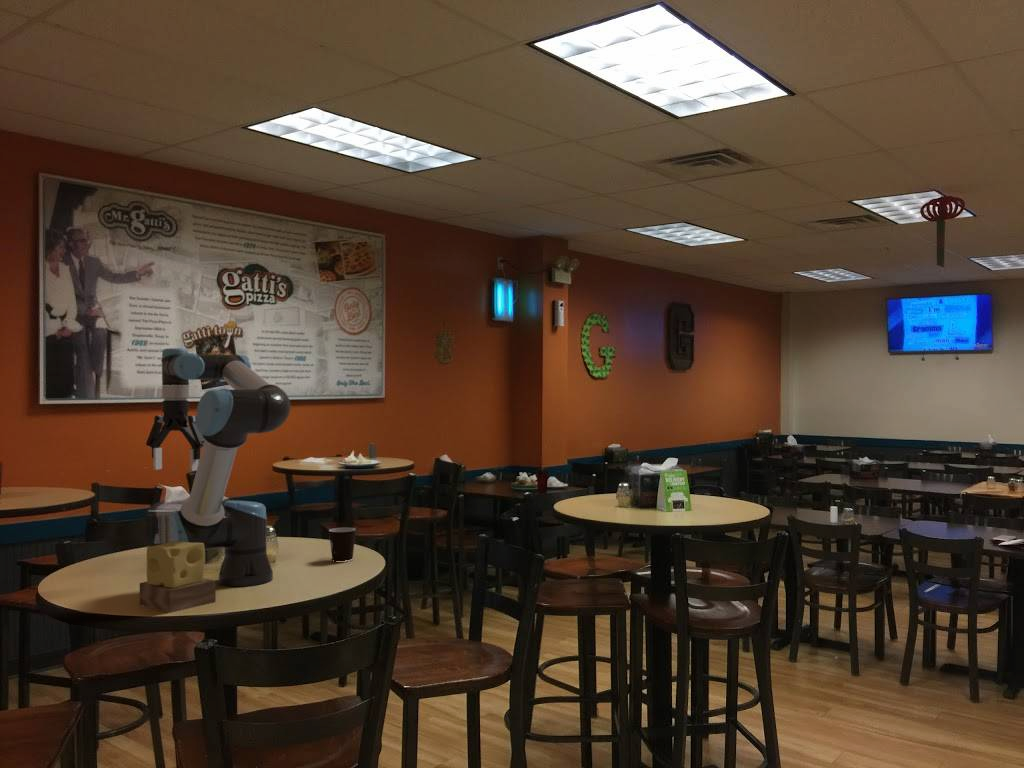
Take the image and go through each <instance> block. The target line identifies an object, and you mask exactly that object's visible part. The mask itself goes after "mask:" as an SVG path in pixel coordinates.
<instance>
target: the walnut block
mask: <svg viewBox="0 0 1024 768" xmlns="http://www.w3.org/2000/svg"><path fill="white" fill-rule="evenodd" d="M216 590H217V589H216V580H215V579H214V580H213V579H209V578H204V577H203V580H202V581H200V582H195V583H191V584H187V585H183V586H179V587H176V588H169V587H164V585H160V586H158V585H149V584H148V583H147V581H143V582H140V583H139V605H140V606H142V605H144V606H143V607H146V606H147V607H146V608H150V607H151V609H153V608H154V610H157V609H158V611H162V612H164V611H165V613H168V612H169V613H168V614H171V613H175V612H180V611H184V610H188V609H193V608H196V607H201V606H205V605H209V604H213V603H214V604H215V603H216V602H217V601H216Z"/></svg>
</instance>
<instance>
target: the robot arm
mask: <svg viewBox="0 0 1024 768" xmlns="http://www.w3.org/2000/svg"><path fill="white" fill-rule="evenodd" d="M160 361H161V383H162V384H161V398H162V399H164V400H162V402H161V406H162V407H161V408H162V409H161V410H162V411H161V412H162V413H163V415H155V416H154V422H153V425H152V428H151V429H150V432H149V435H148V437H147V439H146V442H145V446H147V447H150V448H151V458H152V459H153V471H155V470H156V471H158V470H162V469H163V447H162V446H161V445H162V444H163V442H164V440H165V439H167V438H166V437H168V435H169V433H170V432H171V431H179V432H181V433H182V434H183V436H184V437H185V439H186V441H187V442H188V443H189V445H190V446H191V448H190V449H189V471H190V472H194V471H196V472H195V476H194V479H193V483H192V485H191V491H190V494H189V497H188V498H186V499H185V500H184V501H183V502H182V504H181V506H180V510H177V509H176V510H174V511H171V513H170V515H169V529H170V536H171V542H175V541H180V542H189V543H204V548H205V551H207V550H214V549H221V548H224V556H223V557H224V558H223V561H222V564H221V566H220V570H219V572H218V573H219V574H218V584H220V585H222V586H226V587H246V586H247V587H248V586H255V585H256V586H257V585H261V584H265V583H269V582H272V580H273V579H274V572H273V568H272V567H271V566H272V565H271V562H270V560H269V556H268V553H267V521H268V518H267V508H266V506H265V504H263V503H262V502H261V503H260V502H257V501H249V500H233V499H232V500H225V501H224V497H225V493H226V490H227V486H228V484H229V481H230V480H229V479H230V476H231V473H232V470H233V465H234V462H235V460H236V459H235V458H236V455H237V451H238V448H240V447H242V446H243V445H245V443H246V442H247V438H248V436H249V435H251V434H264V433H265V434H266V433H269V432H273V431H276V430H277V429H278V428H280V427H282V425H283V424H284V423H285V422H286V421H287V419H288V418H289V415H290V412H291V401H290V398H289V396H288V394H287V393H286V392H285V391H284V390H283V389H282V388H280V387H279V386H278V385H276V384H272V383H271V384H270V383H269V382H267V381H266V380H265V379H264V378H262V377H261V376H260V375H259V374H258V373H257V372H255V371H254V370H253V369H252V366H251V364H252V363H251V361H250V359H249V357H248V356H246V355H242V354H205V353H203V354H201V353H189V350H188V349H187V348H174V347H173V348H164V349H162V353H161V360H160ZM189 380H190V381H194V380H197V381H199V380H206V381H207V380H208V381H209V380H212V381H213V380H215V381H216V380H218V381H219V380H222V381H225V382H226V383H227V384H228V385H229V386H230V387H231V388H232V389H227V388H219V389H211V390H208V391H206V392H205V393H203V395H202V396H201V397H200V399H199V402H198V403H197V407H196V415H188V412H190V402H189V400H187V399H189V398H190V397H189V396H190V390H189V389H190V386H189V385H190V381H189ZM201 448H202V449H201ZM223 501H224V504H223Z"/></svg>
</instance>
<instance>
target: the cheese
mask: <svg viewBox="0 0 1024 768" xmlns="http://www.w3.org/2000/svg"><path fill="white" fill-rule="evenodd" d="M205 566H206V550H205V548H204V543H189V542H180V541H175V542H173V541H170V542H167V543H166V542H165V543H162V544H156V545H151V546H147V548H146V582H147V583H148V584H149V585H158V586H160V585H164V587H169V588H176V587H179V586H183V585H187V584H191V583H195V582H200V581H202V580H203V578H204V572H205V568H206V567H205Z"/></svg>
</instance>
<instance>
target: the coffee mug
mask: <svg viewBox="0 0 1024 768" xmlns="http://www.w3.org/2000/svg"><path fill="white" fill-rule="evenodd" d="M356 532H357V531H356V528H355V527H336V528H330V529H329V530H328V536H329V542H330V550H331V560H334V561H345V560H350V559H352V558H353V559H354V548H355V541H356V540H355V539H356Z"/></svg>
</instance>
